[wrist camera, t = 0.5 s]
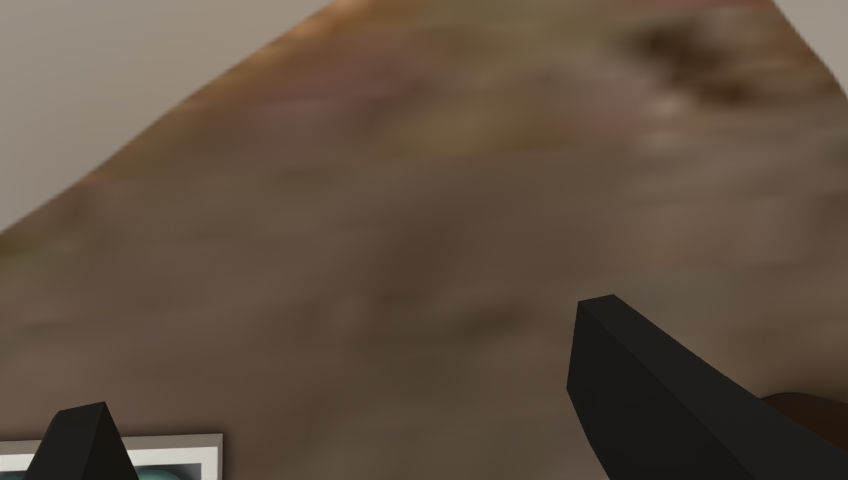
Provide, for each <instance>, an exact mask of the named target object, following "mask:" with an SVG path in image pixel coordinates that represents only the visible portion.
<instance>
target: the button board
mask: <svg viewBox="0 0 848 480" xmlns="http://www.w3.org/2000/svg"><path fill="white" fill-rule="evenodd" d="M121 439H122V441H123V444H124V446H125V448H126V450H127V453H128V455H129V457H130V459H131V462H132V464H133V466H134V468H135V471H136V473H137V472H140V471H144V470H151V469H152V470H163V471H166V472H169V473H171V474H173V475H175V476H177V477H178V478H179V479H181V480H222V469H223V433H218V434H190V435H162V436H134V437H121ZM41 441H42V440H22V441H0V477H2V476H20V477H23V476H24V474H25V472H26V470H27V468H28V467H29V465H30V463H31V461H32V459H33V457H34V455H35V453H36V451H37V449H38V447H39V445H40V443H41Z"/></svg>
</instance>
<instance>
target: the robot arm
mask: <svg viewBox="0 0 848 480" xmlns="http://www.w3.org/2000/svg"><path fill="white" fill-rule="evenodd" d="M566 389H567V391H568V393H569V396H570V398H571V401H572V403H573V406H574V408H575V411H576V413H577V416H578V418H579V420H580V423H581V425H582V427H583V429H584V432H585V434H586V436H587V439H588V441H589V443H590V445H591V447H592V449H593V451H594V452H595V454H596V456H597V458H598V459H599V461H600V463H601V465H602V466H603V468H604V470H605V472H606V473H607V475H608V477H609V479H610V480H848V452H847V451H846V450H844V449H842V448H840V447H838V446H836V445H835V444H833V443H831V442H829V441H827V440H826V439H824V438H822V437H820V436H819V435H817V434H815V433H814V432H812V431H810V430H808V429H807V428H805V427H803V426H802V425H800V424H798V423H797V422H795V421H794V420H792V419H791V418H789V417H787V416H786V415H784V414H783V413H781V412H779V411H778V410H776V409H775V408H773V407H771V406H770V405H768V404H767V403H765V402H764V401H762V400H760V399H759V398H757V397H756V396H754V395H753V394H751V393H750V392H748V391H747V390H745V389H744V388H742V387H741V386H739V385H738V384H736V383H735V382H733V381H732V380H731V379H729V378H728V377H726V376H725V375H723V374H722V373H720V372H719V371H718V370H716V369H715V368H713V367H712V366H710V365H709V364H708V363H706V362H705V361H703V360H702V359H701V358H699V357H698V356H696V355H695V354H694V353H692V352H691V351H690V350H688V349H687V348H685V347H684V346H683V345H681V344H680V343H679V342H677V341H676V340H675V339H673V338H672V337H671V336H669V335H668V334H666V333H665V332H664V331H662V330H661V329H660V328H658V327H657V326H656V325H654V324H653V323H652V322H650V321H649V320H648V319H646V318H645V317H644V316H642V315H641V314H640V313H638V312H637V311H636V310H634V309H633V308H632V307H630V306H629V305H628V304H626V303H625V302H623V301H622V300H621V299H619V298H618V297H616V296H615V295H614V294H612V295H607V296H602V297H598V298H593V299H588V300H583V301H579V302H578V307H577V314H576V322H575V329H574V336H573V344H572V351H571V358H570V365H569V373H568V380H567V387H566ZM22 480H139V478H138V475H137V473H136V471H135V468H134V466H133V464H132V462H131V459H130V457H129V455H128V453H127V450H126V448H125V446H124V444H123V441H122V439H121V437H120V435H119V432H118V430H117V428H116V426H115V423H114V421H113V419H112V417H111V414H110V412H109V410H108V408H107V405H106V403H105V401H104V402H99V403H94V404H90V405H85V406H80V407H75V408H71V409H66V410H61V411H59V412H58V413H57V414H56V415H55V416H54V418H53V419H52V421H51V423H50V425H49V427H48V429H47V431H46V433H45V435H44V437H43V439H42V441H41V443H40V445H39V447H38V449H37V451H36V453H35V455H34V457H33V459H32V461H31V463H30V465H29V467H28V468H27V470H26V472H25V474H24V476H23V478H22Z"/></svg>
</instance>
